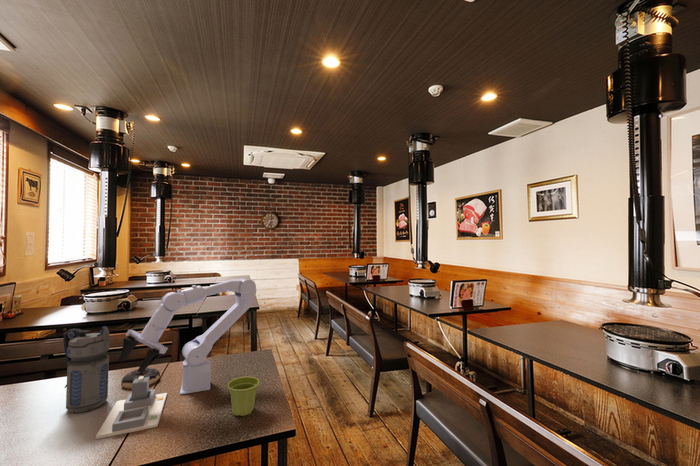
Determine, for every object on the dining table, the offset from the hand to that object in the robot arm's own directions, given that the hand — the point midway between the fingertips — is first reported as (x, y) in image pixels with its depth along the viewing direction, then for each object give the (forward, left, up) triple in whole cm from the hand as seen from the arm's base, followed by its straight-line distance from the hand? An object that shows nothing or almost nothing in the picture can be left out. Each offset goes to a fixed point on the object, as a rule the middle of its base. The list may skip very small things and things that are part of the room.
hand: (130, 366), depth 100 cm
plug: (-3, +1, -11) cm, 12 cm away
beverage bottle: (+13, -5, -12) cm, 19 cm away
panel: (-3, +7, -12) cm, 15 cm away
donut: (0, -18, -13) cm, 22 cm away
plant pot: (-33, +18, -12) cm, 40 cm away
